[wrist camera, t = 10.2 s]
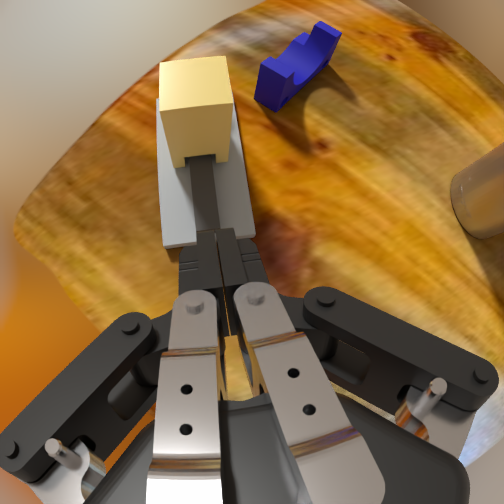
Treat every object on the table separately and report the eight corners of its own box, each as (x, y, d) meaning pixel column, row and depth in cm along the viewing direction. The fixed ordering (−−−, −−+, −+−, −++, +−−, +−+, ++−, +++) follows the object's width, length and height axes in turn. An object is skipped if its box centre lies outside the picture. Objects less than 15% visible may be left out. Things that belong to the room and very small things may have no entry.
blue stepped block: (299, 47, 35) (309, 15, 29) (327, 64, 35) (342, 33, 29) (242, 93, 32) (248, 56, 26) (275, 113, 32) (286, 78, 26)
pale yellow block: (221, 118, 29) (225, 55, 20) (228, 161, 28) (233, 102, 20) (171, 124, 28) (159, 62, 20) (173, 168, 27) (159, 111, 19)
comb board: (231, 97, 31) (234, 65, 26) (254, 237, 28) (262, 220, 23) (158, 105, 30) (151, 74, 25) (165, 248, 27) (154, 233, 22)
